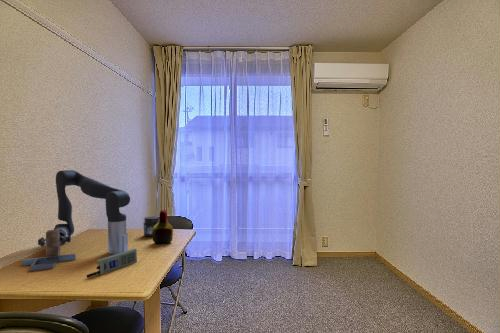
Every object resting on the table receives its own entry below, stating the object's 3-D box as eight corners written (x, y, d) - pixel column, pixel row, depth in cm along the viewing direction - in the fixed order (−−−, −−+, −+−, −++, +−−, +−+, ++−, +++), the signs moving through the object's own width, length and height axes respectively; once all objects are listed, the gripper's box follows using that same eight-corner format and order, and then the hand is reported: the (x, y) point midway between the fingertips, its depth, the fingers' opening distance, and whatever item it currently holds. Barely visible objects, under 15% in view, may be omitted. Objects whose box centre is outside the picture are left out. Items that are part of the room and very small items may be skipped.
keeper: (76, 258, 154) (75, 253, 154) (72, 266, 143) (72, 261, 143) (23, 264, 146) (23, 259, 145) (15, 273, 134) (15, 267, 134)
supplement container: (147, 233, 206) (147, 215, 206) (162, 233, 205) (162, 216, 205) (140, 237, 196) (140, 218, 196) (156, 237, 195) (156, 219, 195)
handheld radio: (138, 262, 149) (89, 280, 127) (133, 261, 151) (85, 278, 129) (137, 249, 149) (89, 264, 127) (133, 248, 151) (84, 263, 129)
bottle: (173, 241, 186) (173, 209, 186) (172, 244, 180) (172, 210, 180) (153, 242, 185) (153, 209, 184) (151, 245, 179) (151, 211, 178)
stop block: (59, 256, 158) (59, 229, 158) (58, 259, 153) (57, 231, 153) (48, 257, 156) (48, 230, 156) (46, 260, 151) (45, 232, 151)
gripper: (43, 230, 165) (35, 237, 150) (73, 228, 170) (68, 234, 155) (43, 244, 165) (35, 252, 150) (73, 241, 171) (68, 249, 156)
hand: (52, 243), depth 153 cm, fingers open, 8 cm apart
